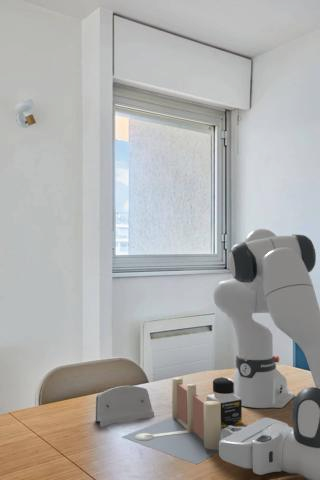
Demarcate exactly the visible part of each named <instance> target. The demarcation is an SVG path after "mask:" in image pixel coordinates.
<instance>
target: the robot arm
mask: <svg viewBox="0 0 320 480" xmlns="http://www.w3.org/2000/svg"><path fill="white" fill-rule="evenodd" d="M316 254H317V253H316V249H315V246H314V243H313V242H312V240H311V238H309V237H308V236H306V235H303V234H291V235H276V234H275V232H273V231H272V230H269V229H266V228H258V229H255V230H253V231H251V232H249V234H248V235H247V236H246V238H245V240H244V241H242V242H238V243H236V244H234V245H232V247H231V248H230V250H229V255H228V258H227V264H228V268H229V272H230V273H231V275H232V277H233V278H230V279H224V280H220V281H219V282H218V283H217V284H216V286H215V287H214V289H213V290H214V291H213V301H214V304H215V305H216V307H217V309H219V310H220V311H221V312H222V313H224V314H225V315H226V317H228V319H229V320H230V321H231V324H232V325H233V327H234V330H235V335H236V336H235V337H236V346H237V349H236V351H237V355H236V358H235V367H236V370H235V371H234V372H233V377H232V380H234V382H235V394H234V395H235V396H237V397H240V398H241V399H242V406H243V407H247V408H251V409H252V408H254V409H268V408H273V409H274V408H276V409H278V408H279V409H280V408H284V407H285V406H286V405H287V404H288V403H289V402H290V401H291V400H292V399H293V398H294V400H293V402H292V403H293V404H292V410H291V411H292V412H291V413H292V417H291V418H292V419H291V420H292V426H290V425H289V424H288V423H286V422H284V421H281V420H278V419H274V418H271V417H262V418H260V419H258V420H256V421H254V422H253V423H250V424H249V425H247V426H235V425H229V426H225V427H224V429H222V436H223V437H226V438H224V439H222V440H220V441H219V453H218V455H219V457H220V459H221V460H223V461H225V462H226V463H229V464H232V465H234V466H237V467H240V468H243V469H252V471H253V473H254V474H256V475H259V476H262V475H266V474H269V473H275V472H286V473H288V474H298V475H301V476H303V477H304V478H305V479H307V480H320V306H319V302H318V299H317V296H316V292H315V288H314V286H313V282H312V279H311V276H310V273H311V272H312V271H313V270H314V268H315V266H316V258H317V257H316V256H317V255H316ZM253 314H269V315H270V317H271V320H272V321H273V323H274V326H276V328H278V330H280V331H281V332H282V333H284V334H285V335H286V336H288V337H289V338H290V339H291V340H292V341H293V342H295V344H297V346H298V347H299V348H300V349H301V350H302V352H303V354H304V357H305V358H306V361H307V365H308V367H309V370H310V373H311V375H312V380H313V383H314V385H315V386H314V387H313V386H310V387H307V388H306V387H305V388H304V389H302V390H301V391H299V392H298V393H297V394H296V396H295V392H293V391H292V390H288V383H287V378H286V377H285V376H284V375H283V374H282V373H281V372H280V371H279V370H278V369H277V366H276V365H277V364H276V363H280V356H279V355H277V356H276V355H273V352H274V350H273V349H274V348H273V346H274V345H273V338H274V337H273V333H272V331H271V330H270V329H269V328H268V327H266V326H265V325H264V324H261V323H259V322H257V321H255V320H254V319H253Z"/></svg>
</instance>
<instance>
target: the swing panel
mask: <svg viewBox="0 0 320 480" xmlns="http://www.w3.org/2000/svg"><path fill="white" fill-rule="evenodd" d="M221 428H222V427H221V403H220V402H217V401H207V400H205V399H204V398H203V397H201V396H199V395H198V394H196V395H193V431H194V432H195V433H196V434H197V435H198V436H200V437H201V438H202V439H203V440H204V447H205V448H207V449H219V441H220V440H221Z"/></svg>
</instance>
